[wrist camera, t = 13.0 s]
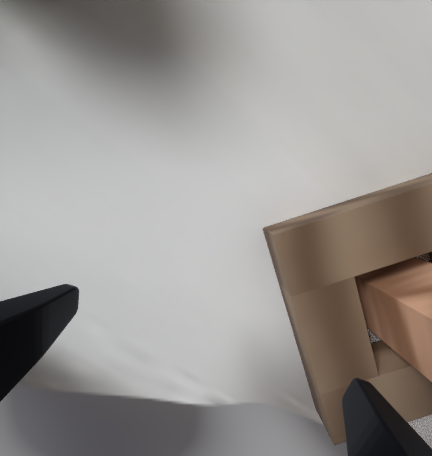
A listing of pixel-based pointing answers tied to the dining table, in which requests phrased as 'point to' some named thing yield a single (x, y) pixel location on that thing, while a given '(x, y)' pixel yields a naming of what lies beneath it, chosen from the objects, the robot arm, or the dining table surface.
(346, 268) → the walnut hole board
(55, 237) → the dining table surface
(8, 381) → the robot arm
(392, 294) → the terracotta peg
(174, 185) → the dining table surface
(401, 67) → the dining table surface
